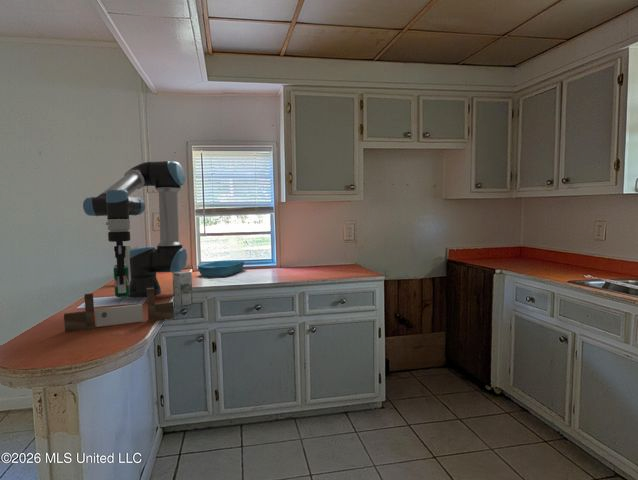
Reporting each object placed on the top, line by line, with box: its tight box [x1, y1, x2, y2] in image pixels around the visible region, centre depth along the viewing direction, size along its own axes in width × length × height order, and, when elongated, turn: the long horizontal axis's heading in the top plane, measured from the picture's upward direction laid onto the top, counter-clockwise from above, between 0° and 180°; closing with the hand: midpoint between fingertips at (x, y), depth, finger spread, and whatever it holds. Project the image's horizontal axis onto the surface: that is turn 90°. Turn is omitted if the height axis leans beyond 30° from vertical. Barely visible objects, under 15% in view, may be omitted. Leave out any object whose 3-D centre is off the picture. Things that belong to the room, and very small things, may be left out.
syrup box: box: [172, 270, 193, 308], centre depth 173 cm, size 6×6×14 cm
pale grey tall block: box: [124, 245, 138, 284], centre depth 227 cm, size 7×6×21 cm
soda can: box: [113, 264, 130, 298], centre depth 154 cm, size 5×5×12 cm
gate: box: [95, 303, 144, 328], centre depth 144 cm, size 15×3×6 cm, turn 116°
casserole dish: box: [197, 259, 245, 278], centre depth 260 cm, size 37×22×7 cm, turn 168°
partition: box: [63, 288, 175, 333], centre depth 145 cm, size 3×35×12 cm, turn 116°
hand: (122, 291), depth 154 cm, fingers closed on soda can, 5 cm apart
